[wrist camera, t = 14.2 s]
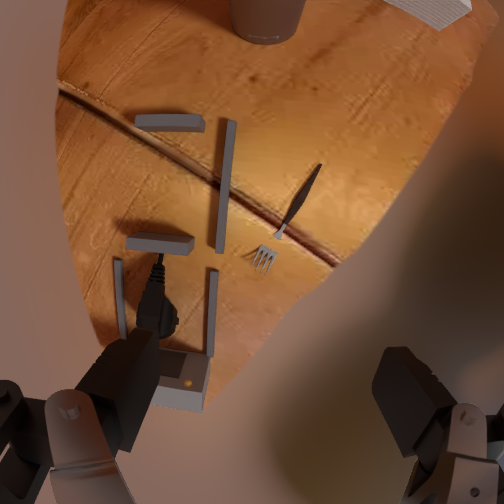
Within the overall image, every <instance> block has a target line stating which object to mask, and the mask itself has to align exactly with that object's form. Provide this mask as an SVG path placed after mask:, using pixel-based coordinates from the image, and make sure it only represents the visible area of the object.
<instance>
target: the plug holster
mask: <svg viewBox="0 0 504 504" xmlns="http://www.w3.org/2000/svg"><path fill="white" fill-rule="evenodd" d="M236 125H237V123H236V121H230V120H228V123H227V131H226V140H225V149H224V159H223V168H222V178H221V188H220V199H219V210H218V222H217V234H216V247H215V253H218V254H223V253H224V246H225V234H226V223H227V212H228V201H229V191H230V181H231V171H232V161H233V152H234V143H235V134H236ZM134 127H136V128H139V129H141V130H143V131H145V132H202V133H204V129H205V120H204V119H203V118H202V116H201V115H200V114H145V115H136V118H135V125H134ZM194 239H195V237H189V236H179V235H168V234H157V233H147V232H137V233H135V234H133V235H130V236H128V237H126V249H129V250H138V251H147V252H156V253H165V254H174V255H184V256H188V255H189V253H190V252H191V251H192V250H193V249H194Z"/></svg>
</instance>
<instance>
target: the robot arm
mask: <svg viewBox="0 0 504 504" xmlns="http://www.w3.org/2000/svg"><path fill="white" fill-rule="evenodd" d="M305 2H306V0H229V5H230V14H231V21H232V26H233V28H234V30H235V32H236V33H237V34H238V35H239V36H240V37H242V38H243V39H245V40H247V41H249V42H252V43H255V44H261V45H271V44H277V43H281V42H283V41H285V40H287V39H289V38H290V37H291V36H293V34H294V33H295V32H296V29H297V27H298V23H299V20H300V17H301V14H302V11H303V8H304V5H305ZM160 373H161V365H160V352H159V337H158V332H157V331H155V330H149V329H143V328H138V327H135V328H134V329H133V331H132V332H131V333H130V335H129V336H128V337H127V339H126V340H125V339H118V340H116V341H114V342H113V343H111V344H109V345H108V346H107V347H106V349H105V350H104V351H103V352H102V354H101V356H99V357H98V359H97V360H96V363H94V364H93V365H92V366H91V368H90V369H89V370H88V372H87V373H86V374H85V375H84V377H83V378H82V379H81V381H80V382H79V383H78V385H77V386H76V387H75V389H66V390H61V391H58V392H56V393H54V394H52V395H51V396H50V397H49V398H48V399H47V400H39V399H33V398H26V397H24V396H23V394H22V392H21V390H20V387H19V386H18V385H17V384H16V383H14V382H12V381H10V380H0V455H1V454H2V452H3V450H4V449H5V447H6V445H7V444H9V445H10V447H9V449H8V450H7V452H6V454H5V456H4V457H3V459H2V460H1V462H0V504H34V503H35V500H36V498H37V495H38V494H39V491H40V489H41V487H42V485H43V482H44V480H45V478H46V476H47V474H48V472H49V469H50V467H55V469H54V470H51V471H50V480H51V485H52V488H53V492H54V495H55V499H56V502H57V504H136V502H135V500H134V498H133V496H132V494H131V492H130V490H129V488H128V487H127V485H126V483H125V480H124V478H123V476H122V474H121V472H120V470H119V468H118V465H117V463H116V461H115V457H116V454H117V452H118V450H122V451H126V452H131V449H132V447H133V444H134V442H135V439H136V437H137V434H138V432H139V429H140V427H141V424H142V422H143V419H144V417H145V414H146V412H147V410H148V407H149V405H150V402H151V400H152V398H153V395H154V393H155V391H156V388H157V386H158V383H159V380H160ZM433 374H434V373H433V372H432V371H431V369H430V368H429V367H428V366H427V365H426V364H424V363H423V362H422V361H420V360H419V359H417V358H416V357H415V355H414V354H413V353H412V352H411V351H410V349H409V348H407V347H406V346H398V347H387V348H386V349H385V351H384V353H383V356H382V358H381V361H380V363H379V366H378V369H377V371H376V374H375V376H374V379H373V382H372V394H373V396H374V398H375V400H376V402H377V404H378V406H379V408H380V410H381V412H382V414H383V416H384V418H385V420H386V422H387V424H388V426H389V428H390V430H391V432H392V434H393V436H394V438H395V440H396V443H397V445H398V447H399V449H400V451H401V453H402V455H403V457H404V458H406V457H410V456H413V455H417V456H418V459H417V460H416V462H415V463H414V465H413V469H412V472H411V475H410V478H409V481H408V483H407V486H406V489H405V491H404V494H403V497H402V499H401V502H400V504H504V472H503V470H502V469H501V467H500V465H499V464H498V462H497V461H498V459H499V458H500V457H501V456H502V455H503V454H504V404H503V405H502V407H501V408H500V410H499V411H498V413H497V414H496V415H485V414H484V413H483V411H482V410H481V409H480V408H478V407H477V406H475V405H473V404H470V403H459V404H458V403H457V401H456V400H455V399H454V398H453V397H452V395H451V394H450V393H449V391H448V390H447V389H446V388H445V386H444V385H443V384H442V383H441V382H439V379H438V378H437V377H436V375H433Z"/></svg>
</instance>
